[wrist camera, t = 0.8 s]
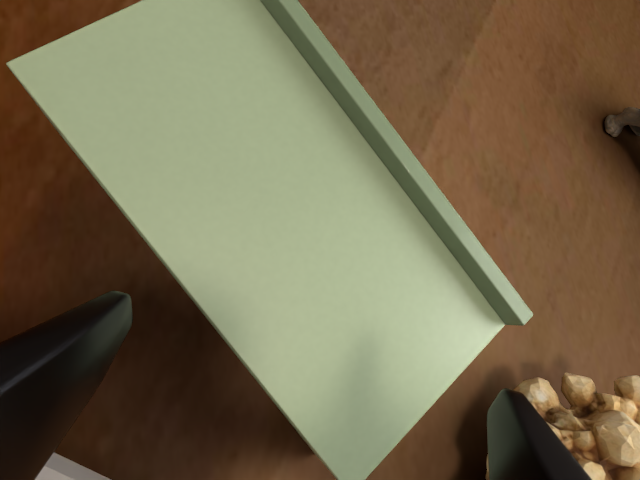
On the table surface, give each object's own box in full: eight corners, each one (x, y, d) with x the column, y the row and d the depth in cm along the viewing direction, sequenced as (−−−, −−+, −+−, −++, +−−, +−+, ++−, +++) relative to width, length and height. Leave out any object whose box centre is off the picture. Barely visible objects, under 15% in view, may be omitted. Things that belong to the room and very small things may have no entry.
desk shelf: (315, 454, 21) (362, 509, 15) (49, 121, 20) (-11, 42, 14) (453, 314, 25) (534, 314, 19) (233, 25, 24) (246, -70, 18)
